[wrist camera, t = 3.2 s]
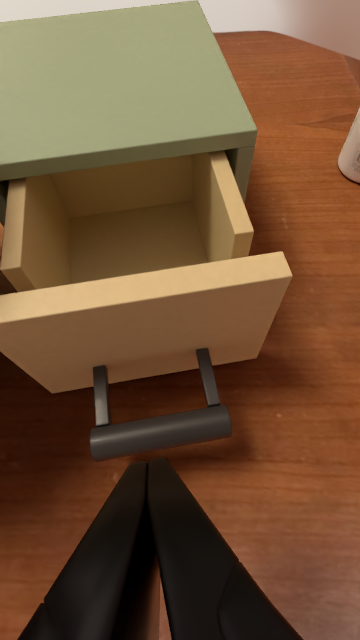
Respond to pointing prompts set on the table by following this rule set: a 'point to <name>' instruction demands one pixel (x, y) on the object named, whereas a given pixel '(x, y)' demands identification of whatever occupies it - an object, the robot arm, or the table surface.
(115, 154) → the cabinet
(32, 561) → the table surface
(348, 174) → the pill bottle
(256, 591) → the robot arm
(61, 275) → the drawer
